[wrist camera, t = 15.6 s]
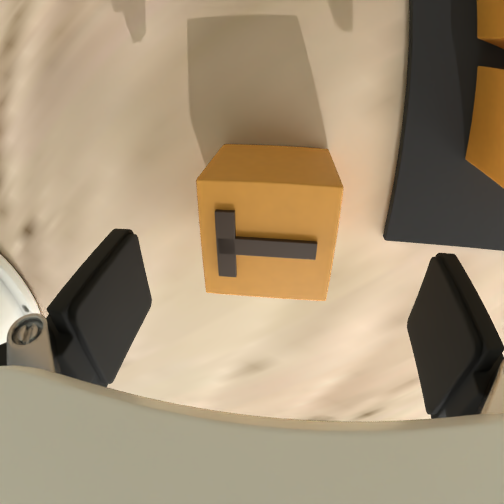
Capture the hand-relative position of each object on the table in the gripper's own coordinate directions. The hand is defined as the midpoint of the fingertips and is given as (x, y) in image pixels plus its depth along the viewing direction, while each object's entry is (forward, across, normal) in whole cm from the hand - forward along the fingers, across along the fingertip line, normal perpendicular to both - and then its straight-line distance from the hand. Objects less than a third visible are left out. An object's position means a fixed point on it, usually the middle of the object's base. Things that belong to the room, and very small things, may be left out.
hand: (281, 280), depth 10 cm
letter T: (+7, +1, 0) cm, 7 cm away
